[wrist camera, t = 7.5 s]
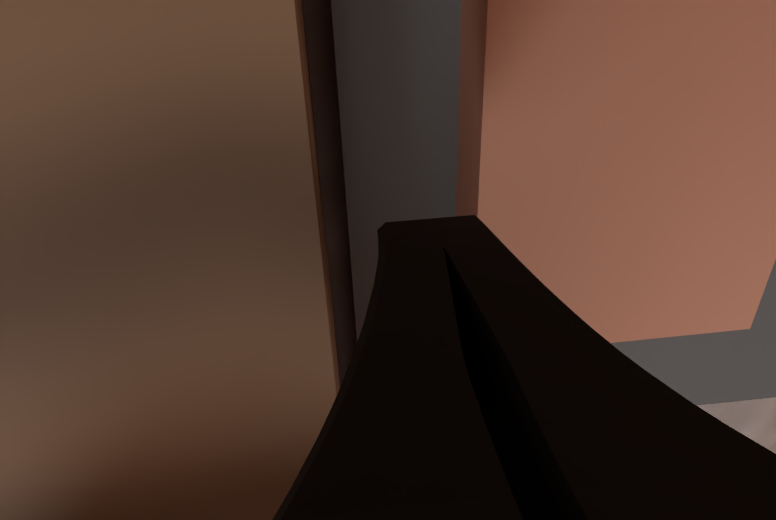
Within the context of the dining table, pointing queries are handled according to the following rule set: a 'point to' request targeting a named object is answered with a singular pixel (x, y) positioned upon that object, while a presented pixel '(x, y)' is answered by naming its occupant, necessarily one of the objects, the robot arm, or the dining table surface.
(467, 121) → the salmon pink panel
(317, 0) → the dining table surface
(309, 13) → the dining table surface
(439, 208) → the mat
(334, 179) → the dining table surface
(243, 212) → the deck
